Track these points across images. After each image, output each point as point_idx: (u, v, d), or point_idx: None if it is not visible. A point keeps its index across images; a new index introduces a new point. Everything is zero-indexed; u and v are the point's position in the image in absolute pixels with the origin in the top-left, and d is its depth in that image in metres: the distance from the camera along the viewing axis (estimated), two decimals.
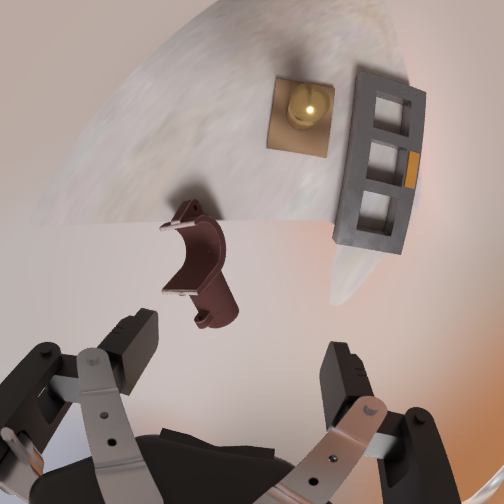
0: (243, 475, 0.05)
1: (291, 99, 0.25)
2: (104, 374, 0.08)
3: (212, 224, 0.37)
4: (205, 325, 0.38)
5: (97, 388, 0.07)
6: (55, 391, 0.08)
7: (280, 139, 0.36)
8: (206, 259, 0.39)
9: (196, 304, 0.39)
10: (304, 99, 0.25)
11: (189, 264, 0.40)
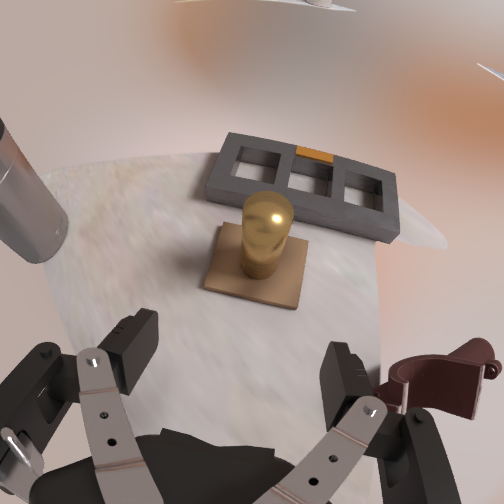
0: (243, 475, 0.05)
1: (265, 232, 0.21)
2: (104, 374, 0.08)
3: (397, 369, 0.24)
4: (499, 363, 0.20)
5: (97, 388, 0.07)
6: (55, 391, 0.08)
7: (287, 290, 0.30)
8: (431, 376, 0.24)
9: None
10: (266, 217, 0.22)
11: (434, 399, 0.23)
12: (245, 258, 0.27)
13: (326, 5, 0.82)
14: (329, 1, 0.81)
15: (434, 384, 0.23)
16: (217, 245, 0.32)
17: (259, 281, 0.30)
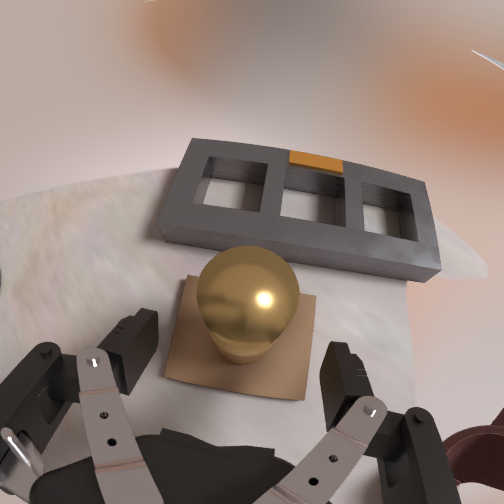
0: (243, 475, 0.05)
1: (244, 340, 0.10)
2: (104, 374, 0.08)
3: None
4: None
5: (97, 388, 0.07)
6: (55, 391, 0.08)
7: (288, 376, 0.19)
8: (479, 451, 0.13)
9: None
10: (244, 307, 0.11)
11: (479, 474, 0.12)
12: (218, 348, 0.16)
13: None
14: None
15: (481, 460, 0.12)
16: (179, 313, 0.21)
17: (245, 367, 0.19)
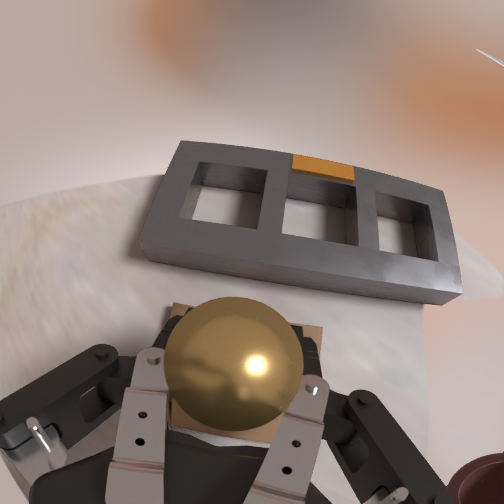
0: (243, 475, 0.05)
1: (226, 427, 0.07)
2: None
3: (457, 489, 0.10)
4: None
5: (148, 387, 0.08)
6: (104, 393, 0.08)
7: None
8: (493, 480, 0.10)
9: None
10: (227, 384, 0.07)
11: (489, 501, 0.09)
12: None
13: None
14: None
15: (494, 488, 0.09)
16: None
17: None
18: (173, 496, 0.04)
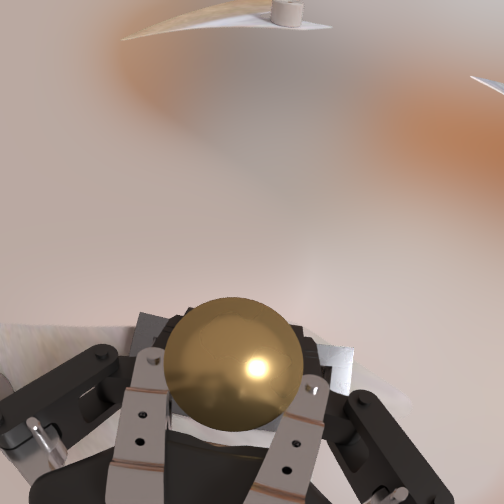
0: (243, 475, 0.05)
1: (226, 427, 0.07)
2: None
3: None
4: None
5: (148, 387, 0.08)
6: (104, 393, 0.08)
7: None
8: None
9: None
10: (227, 384, 0.07)
11: None
12: None
13: (295, 25, 0.78)
14: (299, 19, 0.76)
15: None
16: None
17: None
18: (173, 496, 0.04)
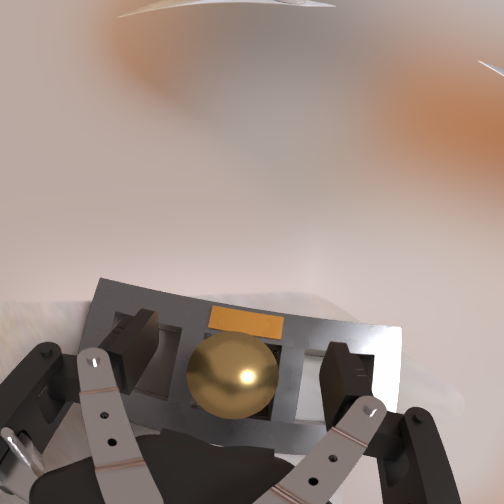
0: (243, 475, 0.05)
1: (228, 416, 0.11)
2: (104, 374, 0.08)
3: None
4: None
5: (97, 388, 0.07)
6: (55, 391, 0.08)
7: None
8: None
9: None
10: (228, 388, 0.11)
11: None
12: None
13: (298, 1, 0.68)
14: None
15: None
16: None
17: None
18: (161, 487, 0.05)
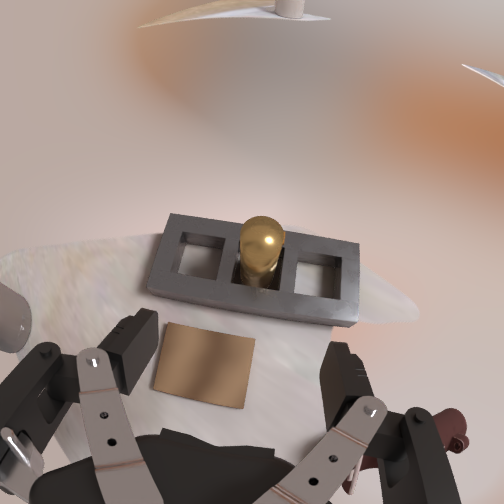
0: (243, 475, 0.05)
1: (260, 253, 0.26)
2: (104, 374, 0.08)
3: None
4: (467, 440, 0.19)
5: (97, 388, 0.07)
6: (55, 391, 0.08)
7: (232, 392, 0.28)
8: None
9: None
10: (260, 240, 0.26)
11: None
12: (244, 273, 0.31)
13: (297, 16, 0.83)
14: (300, 11, 0.81)
15: None
16: (163, 348, 0.30)
17: (204, 385, 0.28)
18: (161, 487, 0.05)
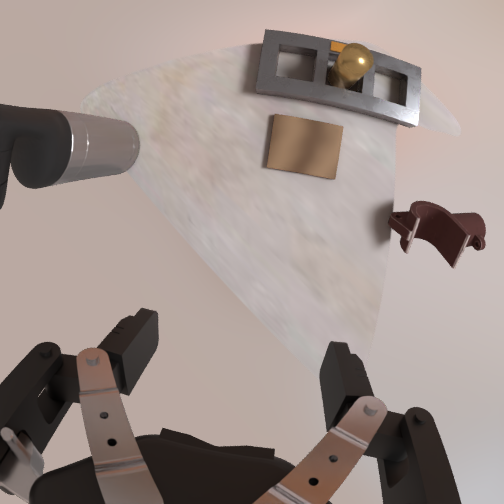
0: (243, 475, 0.05)
1: (357, 70, 0.27)
2: (104, 374, 0.08)
3: (416, 206, 0.37)
4: (484, 242, 0.34)
5: (97, 388, 0.07)
6: (55, 391, 0.08)
7: (327, 166, 0.39)
8: (437, 222, 0.37)
9: (466, 244, 0.36)
10: (357, 61, 0.26)
11: (435, 239, 0.39)
12: (336, 78, 0.33)
13: None
14: None
15: (438, 228, 0.38)
16: (272, 134, 0.38)
17: (307, 161, 0.39)
18: (161, 487, 0.05)
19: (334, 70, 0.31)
